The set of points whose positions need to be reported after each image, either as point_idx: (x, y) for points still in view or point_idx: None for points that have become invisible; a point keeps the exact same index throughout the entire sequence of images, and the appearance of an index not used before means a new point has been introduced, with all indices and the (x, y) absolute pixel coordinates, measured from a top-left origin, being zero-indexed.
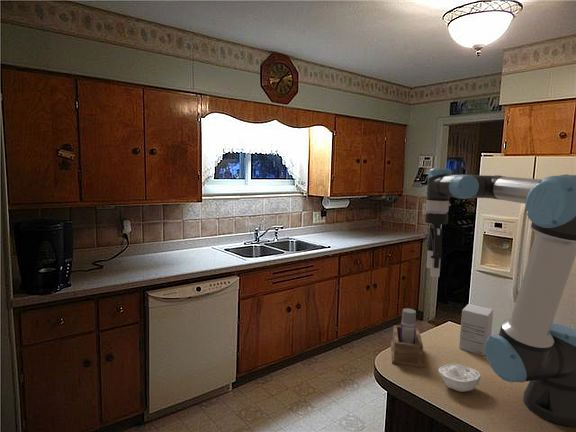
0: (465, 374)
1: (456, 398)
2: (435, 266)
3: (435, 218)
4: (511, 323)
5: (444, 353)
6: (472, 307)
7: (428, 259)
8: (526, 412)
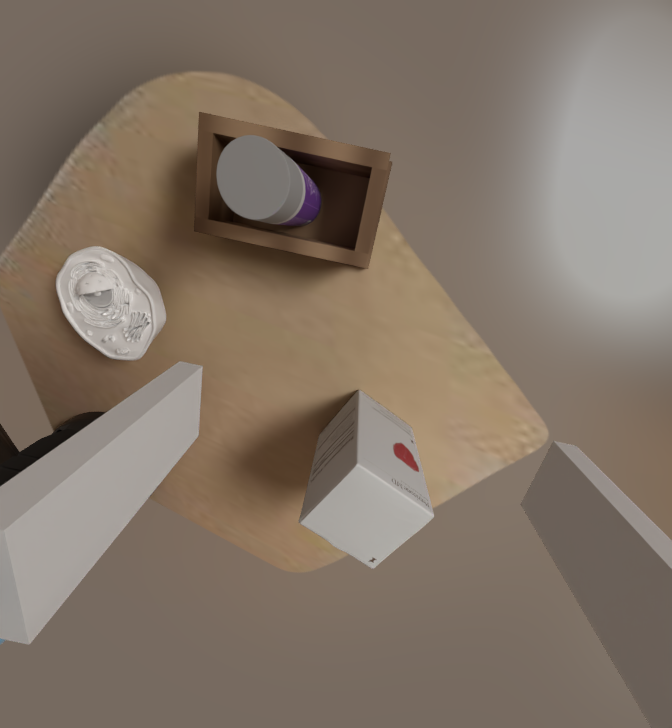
0: (101, 319)
1: None
2: (41, 453)
3: None
4: None
5: (322, 334)
6: (383, 512)
7: (620, 533)
8: (82, 401)
